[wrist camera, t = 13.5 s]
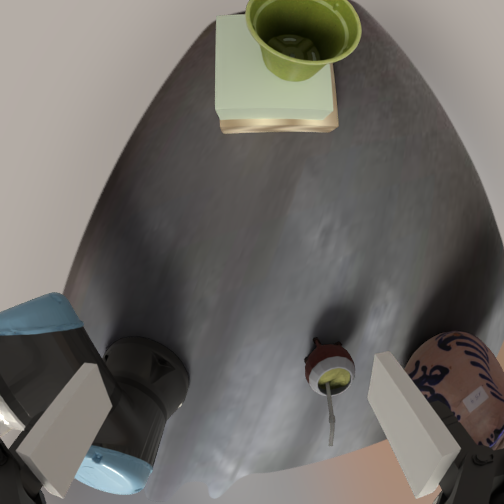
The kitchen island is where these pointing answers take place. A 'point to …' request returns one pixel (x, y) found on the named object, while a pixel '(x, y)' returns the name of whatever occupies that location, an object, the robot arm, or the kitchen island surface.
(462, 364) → the ceramic pitcher
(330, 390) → the mate gourd
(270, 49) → the plant pot
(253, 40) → the upper block
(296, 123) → the lower block
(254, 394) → the kitchen island surface
